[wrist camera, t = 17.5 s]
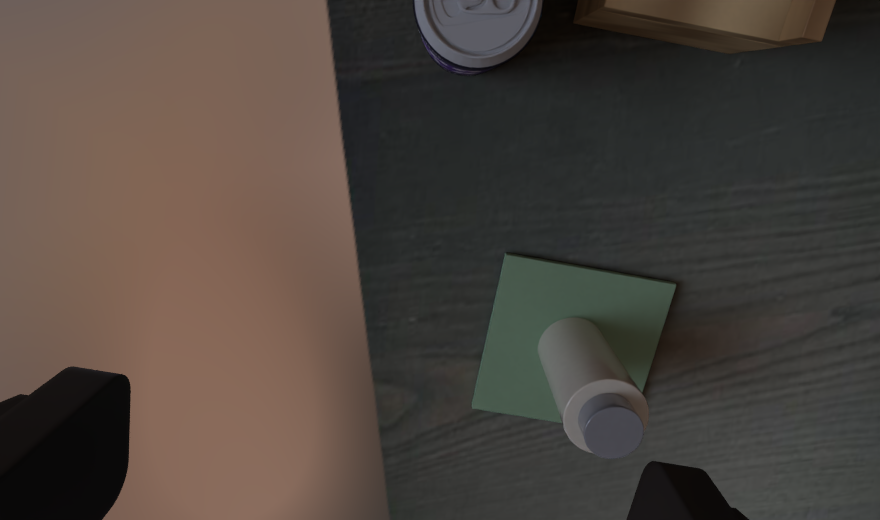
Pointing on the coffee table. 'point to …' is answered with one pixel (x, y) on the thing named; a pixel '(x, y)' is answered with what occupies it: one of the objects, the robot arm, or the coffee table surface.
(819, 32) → the stepped wooden block
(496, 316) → the mat
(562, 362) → the spice bottle
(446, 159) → the coffee table surface
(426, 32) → the beverage can
